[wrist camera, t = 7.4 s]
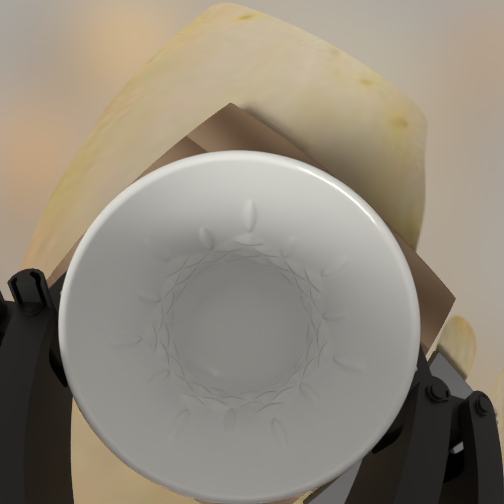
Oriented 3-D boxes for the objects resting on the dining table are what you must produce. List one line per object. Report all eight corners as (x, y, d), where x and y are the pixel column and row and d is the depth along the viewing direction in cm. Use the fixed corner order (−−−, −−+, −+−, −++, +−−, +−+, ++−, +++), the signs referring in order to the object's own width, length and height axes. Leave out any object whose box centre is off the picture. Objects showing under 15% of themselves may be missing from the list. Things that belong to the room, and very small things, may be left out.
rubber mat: (433, 351, 15) (438, 351, 14) (494, 421, 13) (498, 422, 13) (302, 501, 12) (304, 506, 12) (401, 534, 10) (403, 537, 10)
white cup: (285, 410, 13) (345, 519, 4) (151, 366, 14) (35, 415, 4) (327, 280, 15) (440, 218, 6) (197, 237, 16) (141, 121, 6)
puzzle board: (231, 120, 18) (230, 102, 16) (438, 301, 16) (455, 298, 14) (39, 318, 14) (22, 316, 12) (251, 513, 12) (252, 529, 10)
